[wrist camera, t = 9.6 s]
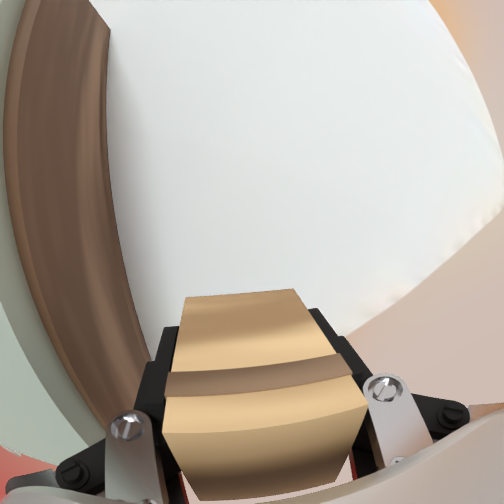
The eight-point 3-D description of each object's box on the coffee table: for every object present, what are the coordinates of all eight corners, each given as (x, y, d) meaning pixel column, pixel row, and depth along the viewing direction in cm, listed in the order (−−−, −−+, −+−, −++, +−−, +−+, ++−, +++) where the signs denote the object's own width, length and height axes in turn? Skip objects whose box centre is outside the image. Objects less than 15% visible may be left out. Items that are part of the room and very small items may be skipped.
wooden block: (184, 296, 10) (158, 430, 4) (294, 287, 10) (371, 401, 4) (199, 379, 11) (198, 501, 5) (291, 369, 11) (336, 481, 6)
